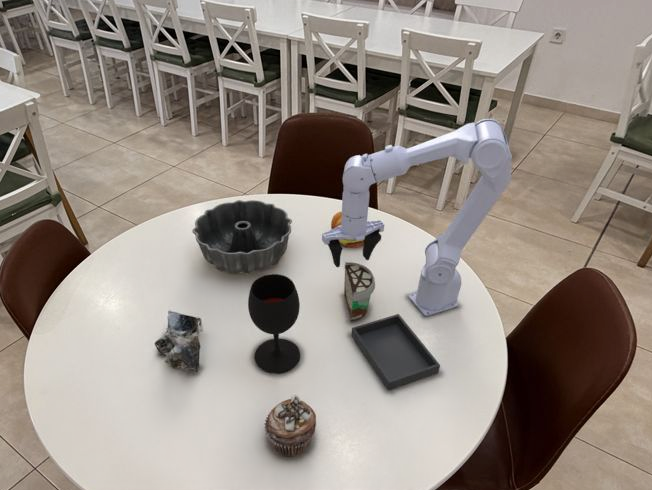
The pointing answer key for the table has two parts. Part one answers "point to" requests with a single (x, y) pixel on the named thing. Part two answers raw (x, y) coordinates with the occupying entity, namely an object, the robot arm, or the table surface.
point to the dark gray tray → (394, 351)
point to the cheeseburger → (345, 242)
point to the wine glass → (274, 321)
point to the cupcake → (290, 426)
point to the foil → (181, 341)
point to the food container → (357, 289)
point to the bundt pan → (243, 235)
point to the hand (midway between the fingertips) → (351, 261)
